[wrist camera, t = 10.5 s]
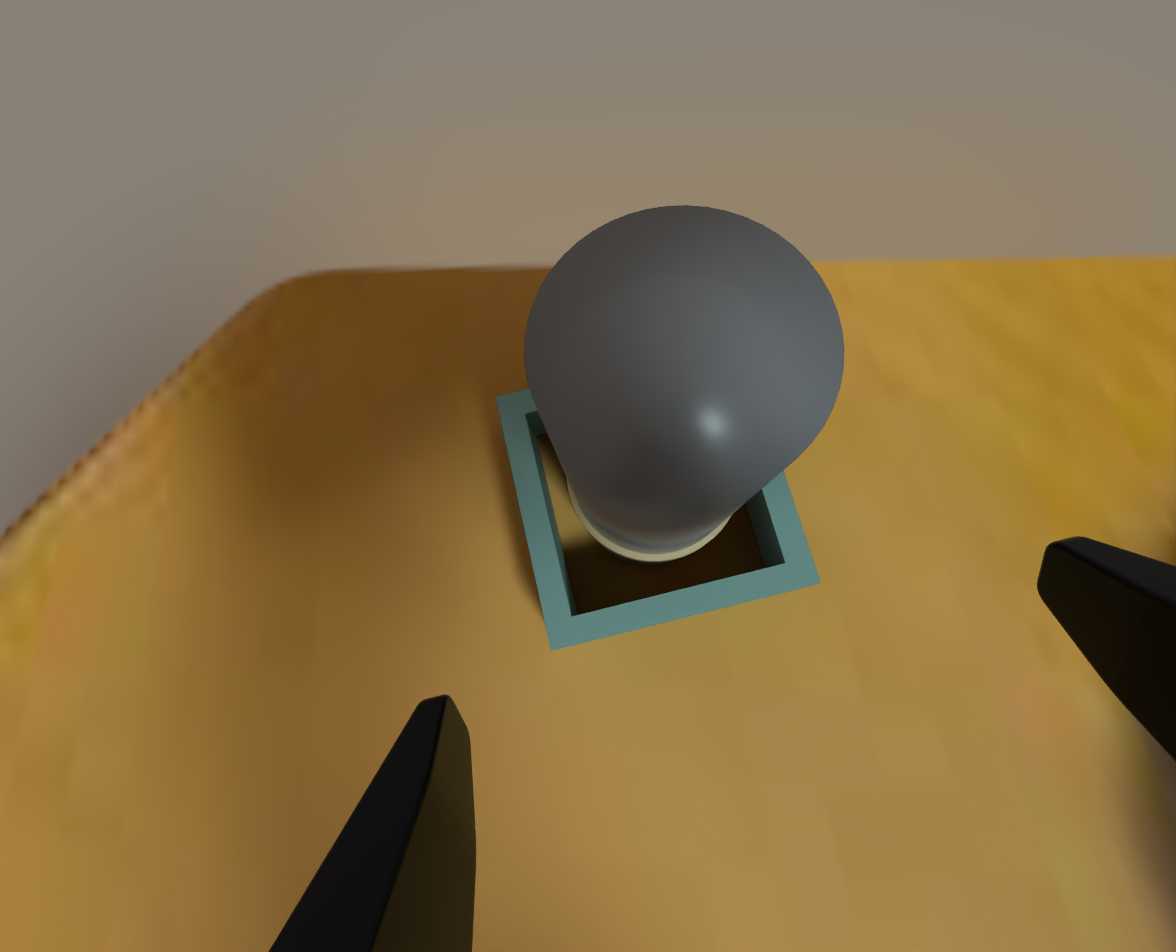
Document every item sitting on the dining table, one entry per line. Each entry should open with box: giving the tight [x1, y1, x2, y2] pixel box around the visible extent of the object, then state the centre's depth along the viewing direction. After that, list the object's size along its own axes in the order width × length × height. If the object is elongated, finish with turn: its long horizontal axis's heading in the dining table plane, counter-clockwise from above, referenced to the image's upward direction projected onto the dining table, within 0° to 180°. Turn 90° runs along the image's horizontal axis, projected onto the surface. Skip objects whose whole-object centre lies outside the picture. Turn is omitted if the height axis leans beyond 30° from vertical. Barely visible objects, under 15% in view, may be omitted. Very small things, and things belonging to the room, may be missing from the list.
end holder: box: [496, 388, 821, 651], centre depth 19 cm, size 8×8×2 cm
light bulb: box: [524, 205, 844, 566], centre depth 14 cm, size 5×5×12 cm
